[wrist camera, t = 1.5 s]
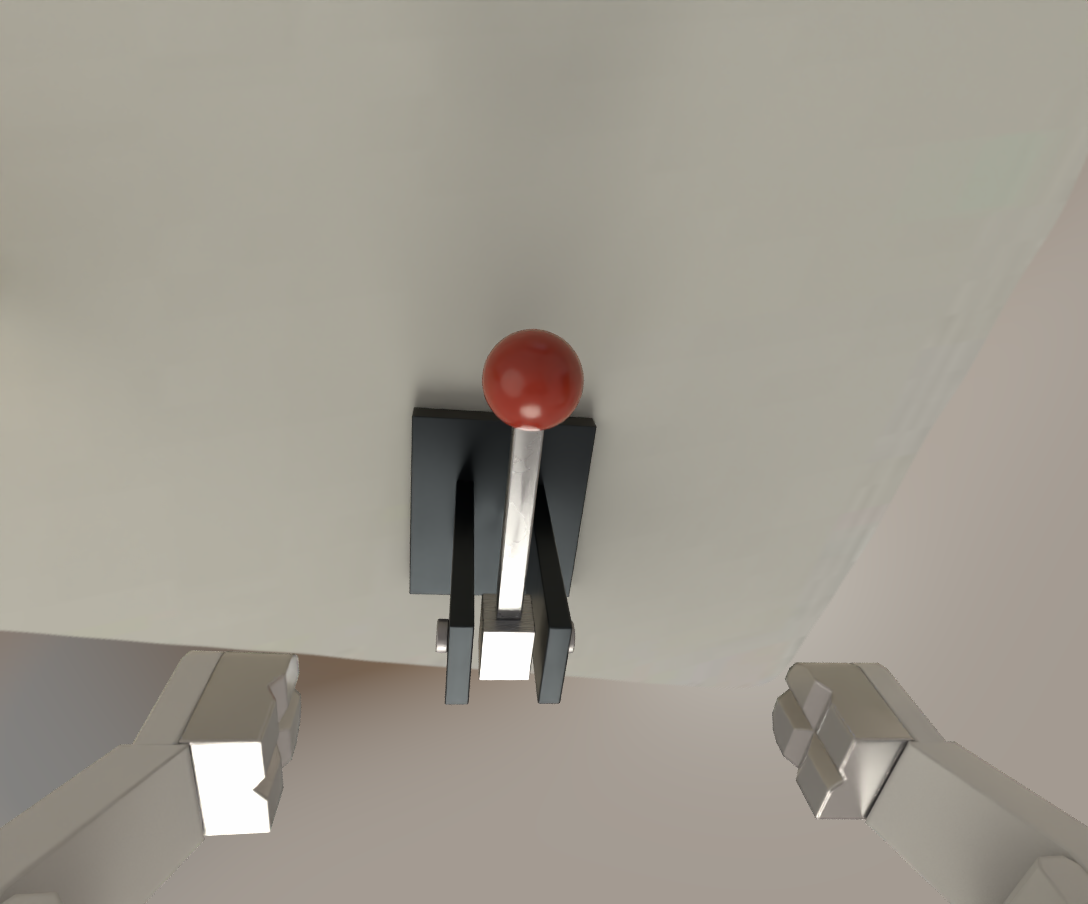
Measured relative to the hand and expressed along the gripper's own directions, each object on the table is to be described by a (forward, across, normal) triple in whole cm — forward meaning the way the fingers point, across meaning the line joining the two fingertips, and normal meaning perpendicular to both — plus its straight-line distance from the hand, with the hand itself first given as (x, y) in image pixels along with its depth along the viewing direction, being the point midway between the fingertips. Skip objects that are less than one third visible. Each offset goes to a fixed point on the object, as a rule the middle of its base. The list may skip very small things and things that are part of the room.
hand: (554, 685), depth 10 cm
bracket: (+24, -1, +11) cm, 27 cm away
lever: (+15, -1, +5) cm, 16 cm away
